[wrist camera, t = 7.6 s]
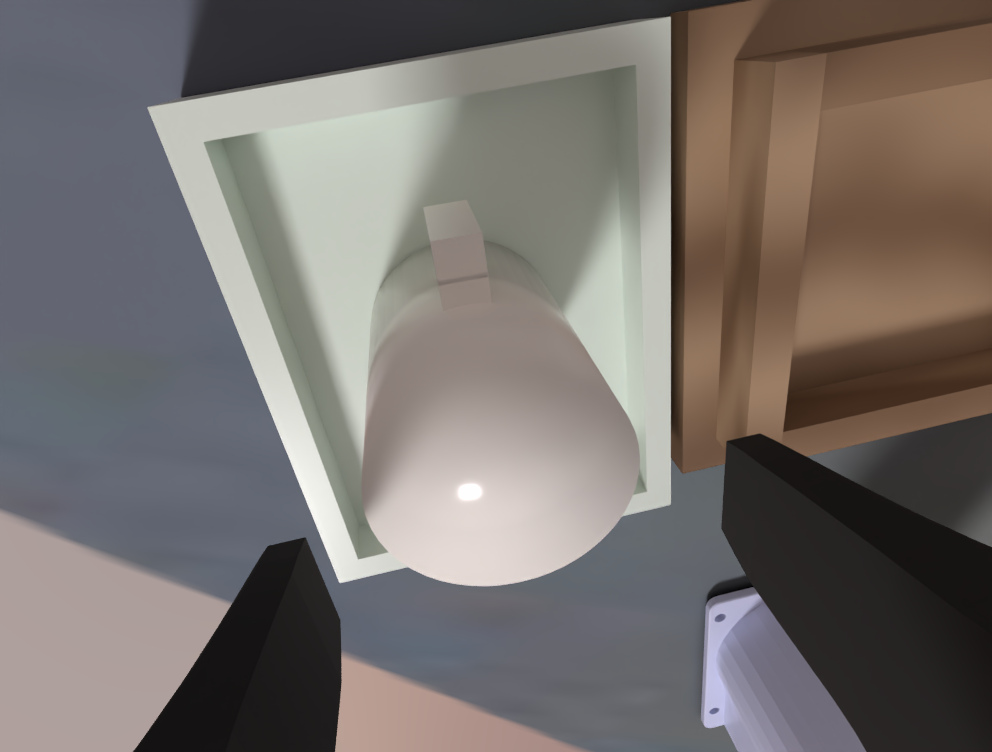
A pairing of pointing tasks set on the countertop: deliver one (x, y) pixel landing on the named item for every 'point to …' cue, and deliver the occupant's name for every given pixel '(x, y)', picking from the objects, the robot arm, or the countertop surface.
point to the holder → (829, 222)
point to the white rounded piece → (486, 417)
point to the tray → (403, 231)
